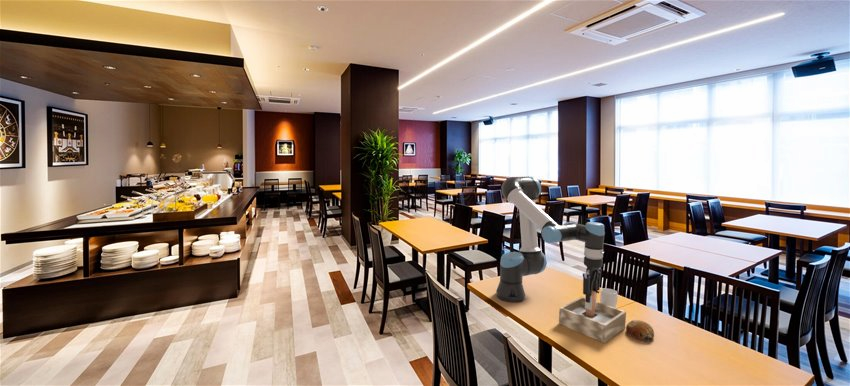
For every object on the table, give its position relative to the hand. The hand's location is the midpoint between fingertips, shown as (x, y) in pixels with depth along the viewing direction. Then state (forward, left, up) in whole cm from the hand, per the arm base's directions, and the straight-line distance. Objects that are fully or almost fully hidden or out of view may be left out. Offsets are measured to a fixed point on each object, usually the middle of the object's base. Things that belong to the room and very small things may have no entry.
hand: (590, 307), depth 151 cm
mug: (+2, +16, -8) cm, 18 cm away
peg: (0, 0, -4) cm, 4 cm away
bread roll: (+18, +7, -8) cm, 21 cm away
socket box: (+2, -2, -7) cm, 8 cm away
